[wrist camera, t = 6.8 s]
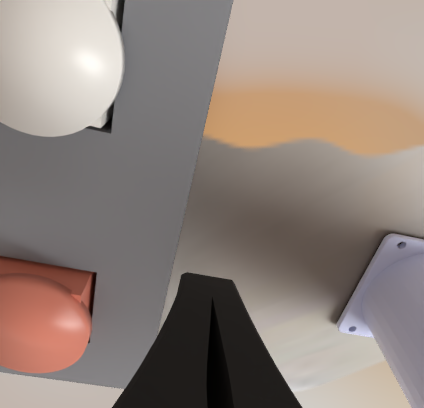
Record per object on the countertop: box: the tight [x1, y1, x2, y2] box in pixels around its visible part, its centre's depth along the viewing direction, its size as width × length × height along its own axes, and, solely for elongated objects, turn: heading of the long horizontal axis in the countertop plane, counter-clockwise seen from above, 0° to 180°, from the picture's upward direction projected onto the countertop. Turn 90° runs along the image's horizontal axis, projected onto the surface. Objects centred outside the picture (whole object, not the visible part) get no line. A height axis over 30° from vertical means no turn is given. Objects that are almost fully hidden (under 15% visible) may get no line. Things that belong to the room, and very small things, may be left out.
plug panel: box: [0, 0, 233, 389], centre depth 16 cm, size 12×24×4 cm, turn 167°
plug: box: [0, 0, 125, 137], centre depth 13 cm, size 6×6×5 cm
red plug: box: [0, 256, 97, 373], centre depth 18 cm, size 6×6×5 cm
